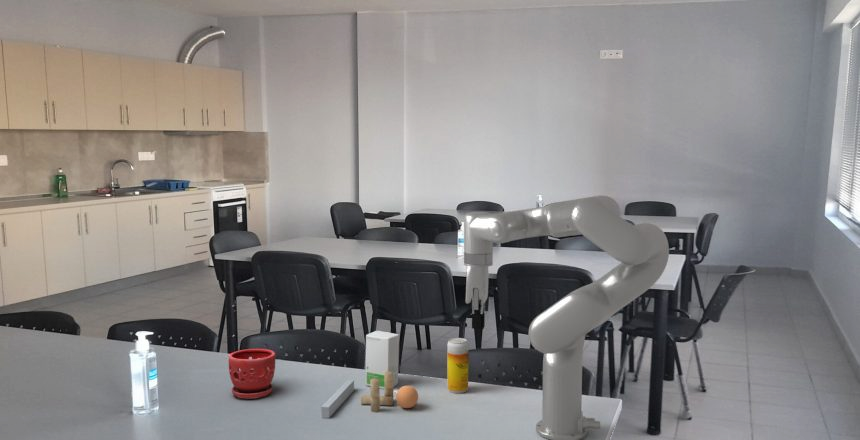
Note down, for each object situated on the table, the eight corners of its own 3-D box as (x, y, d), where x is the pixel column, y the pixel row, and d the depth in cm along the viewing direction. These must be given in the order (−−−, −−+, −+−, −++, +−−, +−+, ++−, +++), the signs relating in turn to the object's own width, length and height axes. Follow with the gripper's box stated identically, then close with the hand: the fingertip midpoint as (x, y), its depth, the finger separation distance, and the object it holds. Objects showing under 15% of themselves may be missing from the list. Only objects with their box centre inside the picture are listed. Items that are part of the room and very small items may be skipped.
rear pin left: (380, 409, 189) (380, 378, 188) (378, 412, 186) (378, 381, 186) (372, 408, 189) (371, 378, 188) (369, 411, 187) (369, 381, 186)
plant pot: (277, 398, 197) (276, 357, 196) (229, 403, 194) (228, 361, 192) (274, 384, 210) (273, 345, 209) (229, 388, 206) (228, 349, 205)
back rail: (354, 390, 204) (354, 380, 204) (328, 418, 183) (328, 407, 182) (347, 389, 204) (347, 379, 204) (321, 417, 183) (321, 406, 183)
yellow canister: (466, 394, 200) (466, 343, 198) (445, 393, 201) (445, 342, 199) (469, 387, 205) (469, 338, 204) (449, 386, 207) (449, 337, 205)
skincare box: (364, 386, 208) (364, 334, 206) (376, 379, 213) (375, 329, 212) (388, 390, 204) (388, 338, 202) (400, 383, 209) (399, 333, 208)
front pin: (393, 400, 193) (363, 398, 195) (392, 394, 192) (362, 393, 193) (391, 407, 191) (361, 405, 193) (390, 401, 190) (360, 400, 191)
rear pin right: (394, 400, 195) (393, 371, 194) (392, 403, 193) (391, 373, 192) (385, 399, 196) (385, 370, 195) (383, 403, 193) (383, 373, 192)
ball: (395, 388, 193) (405, 407, 193) (389, 395, 187) (400, 415, 187) (413, 379, 192) (424, 398, 192) (408, 386, 186) (419, 406, 186)
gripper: (468, 254, 190) (468, 320, 192) (459, 263, 175) (459, 334, 177) (495, 255, 188) (495, 321, 190) (489, 264, 174) (489, 336, 176)
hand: (478, 327), depth 184 cm, fingers closed
